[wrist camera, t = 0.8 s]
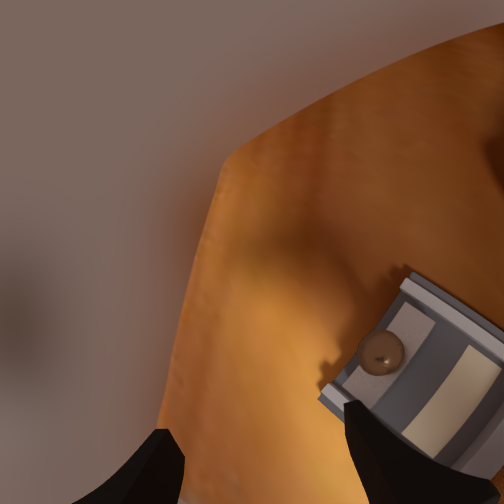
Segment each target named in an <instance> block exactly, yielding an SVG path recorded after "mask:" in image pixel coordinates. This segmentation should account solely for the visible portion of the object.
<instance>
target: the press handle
mask: <svg viewBox="0 0 504 504" xmlns="http://www.w3.org/2000/svg"><path fill="white" fill-rule="evenodd" d="M435 324H436V322H435V321H433V320H432V319H430V318H429V317H427V316H426V315H425V314H423V313H422V312H420V311H419V310H417V309H416V308H414V307H413V306H411V305H410V304H408V303H407V302H405V303H404V304H403V306H402V307H401V309H400V310H399V312H398V313H397V315H396V316H395V318H394V319H393V321H392V322H391V323H390V325H389V326H388V328H387V329H386V330H384V329H379V330H375V331H372V332H370V333H369V334H367V335H366V336H365V337H364V338H363V339H362V341H361V342H360V344H359V347H358V350H357V359H358V363H359V366H358V367H357V368H356V370H355V371H354V372H353V373H352V374H351V376H350V377H349V378H348V379H347V380H346V382H345V383H344V384H343V385H342V386H343V387H344V388H345V389H346V390H347V391H348V392H350V393H351V394H352V395H353V396H354V397H355V398H357V399H359V400H361V401H362V403H363V404H364V405H365V406H366V407H367V408H368V409H371V408H373V407H374V406H375V405H376V404H377V403H378V402H379V401H380V400H381V399H382V397H383V396H384V395H385V394H386V393H387V391H388V390H389V389H390V388H391V387H392V385H393V384H394V383H395V382H396V380H397V379H398V378H399V377H400V375H401V374H402V373H403V371H404V370H405V369H406V367H407V366H408V365H409V363H410V362H411V361H412V359H413V358H414V357H415V355H416V354H417V353H418V351H419V350H420V348H421V347H422V345H423V344H424V343H425V341H426V340H427V338H428V337H429V335H430V334H431V332H432V331H433V329H434V328H435Z"/></svg>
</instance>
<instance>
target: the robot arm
mask: <svg viewBox="0 0 504 504" xmlns="http://www.w3.org/2000/svg"><path fill="white" fill-rule="evenodd" d="M343 406H344V422H345V436H346V440H347V444H348V447H349V451H350V455H351V457H352V460H353V462H354V465H355V467H356V470H357V472H358V475H359V477H360V480H361V482H362V485H363V487H364V489H365V492H366V495H367V497H368V500H369V504H497V502H498V501H499V499H500V496H501V495H500V493H499V492H498V490H497V488H496V487H495V486H494V485H493V484H492V483H491V481H490V480H489V479H485V478H480V477H476V476H472V475H469V474H465V473H462V472H459V471H456V470H454V469H451V468H449V467H447V466H444V465H442V464H440V463H438V462H435V461H433V460H432V459H430V458H428V457H426V456H424V455H423V454H421V453H419V452H418V451H416V450H415V449H413V448H412V447H410V446H409V445H407V444H406V443H405V442H403V441H402V440H401V439H399V438H398V437H397V436H396V435H394V434H393V433H392V432H391V431H390V430H389V429H388V428H386V427H385V426H384V425H383V424H382V423H381V422H380V421H379V420H378V419H377V418H376V417H375V416H374V415H373V414H372V413H371V412H370V411H369V410H368V409H367V407H366V406H365V405H364V404H363V403H362V401H361V400H359V399H357V400H354V401H350V402H346V403H343ZM184 464H185V456H184V455H183V453H182V451H181V450H180V448H179V447H178V445H177V443H176V442H175V440H174V438H173V436H172V435H171V433H170V431H169V430H168V429H155V430H154V431H153V432H152V434H151V435H150V436H149V437H148V438H147V439H146V440H145V442H144V443H143V444H142V445H141V446H140V447H139V449H138V450H137V451H136V452H135V453H134V454H133V455H132V457H130V459H129V460H128V461H127V462H126V463H125V464H124V465H123V466H122V467H121V468H120V469H119V470H118V471H117V472H116V473H115V474H114V475H113V476H111V477H110V479H108V480H107V481H106V482H105V483H103V484H102V485H101V486H99V487H98V488H97V489H95V490H94V491H92V492H91V493H89V494H88V495H86V496H84V497H83V498H81V499H79V500H78V501H76V502H74V503H72V504H177V503H178V499H179V494H180V490H181V486H182V481H183V476H184Z"/></svg>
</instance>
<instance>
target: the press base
mask: <svg viewBox="0 0 504 504" xmlns="http://www.w3.org/2000/svg"><path fill="white" fill-rule="evenodd" d="M400 289H401V291H400V292H399V294H398V295H397V297H396V298H395V300H394V301H393V303H392V304H391V306H390V307H389V309H388V310H387V312H386V313H385V314H384V316H383V317H382V319H381V320H380V322H379V323H378V324H377V326H376V327H375V328H374V330H373V331H375V330H379V329H384V330H386V329H387V328H388V326H389V325H390V323H391V322H392V321H393V319H394V318H395V316H396V315H397V313H398V312H399V310H400V309H401V307H402V306H403V304H404V303H405V302H407V303H408V304H410V305H411V306H413V307H414V308H416V309H417V310H419V311H420V312H422V313H423V314H425V315H426V316H427V317H429V318H430V319H432V320H433V321H435V322H436V324H435V328H434V329H433V331H432V332H431V334H430V335H429V337H428V338H427V340H426V341H425V343H424V344H423V345H422V347H421V348H420V350H419V351H418V353H417V354H416V355H415V357H414V358H413V359H412V361H411V362H410V363H409V365H408V366H407V367H406V369H405V370H404V371H403V373H402V374H401V375H400V377H399V378H398V379H397V380H396V382H395V383H394V384H393V385H392V387H391V388H390V389H389V390H388V391H387V393H386V394H385V395H384V396H383V397H382V399H381V400H380V401H379V402H378V403H377V404H376V405H375V406H374V407H373V408H371V409H368V408H367V409H368V410H369V411H370V412H371V413H372V414H373V415H374V416H375V417H376V418H377V419H378V420H379V421H380V422H381V423H382V424H383V425H384V426H385V427H386V428H388V429H389V430H390V431H391V432H392V433H393V434H394V435H396V436H397V437H398V438H399V439H401V440H402V441H403V442H405V443H406V444H407V445H409V446H410V447H412V448H413V449H415V450H416V451H418V452H419V453H421V454H423V455H424V456H426V457H428V458H430V459H432V460H433V461H435V462H438V463H440V464H442V465H444V466H447V467H449V468H451V469H454V470H456V471H459V472H462V473H465V474H469V475H472V476H476V477H480V478H485V479H489V480H491V479H492V478H493V477H494V476H495V474H496V473H497V472H498V471H499V470H500V469H501V468H502V466H503V465H504V332H502V331H501V330H500V329H498V328H497V327H496V326H494V325H493V324H491V323H490V322H489V321H487V320H486V319H484V318H483V317H481V316H480V315H479V314H477V313H476V312H474V311H473V310H471V309H470V308H468V307H467V306H465V305H464V304H463V303H461V302H460V301H458V300H457V299H455V298H454V297H452V296H451V295H449V294H448V293H446V292H444V291H443V290H441V289H440V288H438V287H437V286H435V285H434V284H432V283H431V282H429V281H427V280H426V279H424V278H423V277H421V276H419V275H418V274H416V273H415V272H412V273H411V275H410V277H409V278H405V280H404V281H403V283H402V285H401V286H400ZM358 366H359V363H358V359H357V352H356V354H355V355H354V356H353V357H352V359H351V360H350V361H349V362H348V364H347V365H346V366H345V367H344V369H343V370H342V371H341V372H340V373H339V375H338V376H337V377H336V378H335V379H334V381H333V382H332V383H328V384H327V385H326V386H325V387H324V388H323V389H322V391H321V392H322V394H321V395H320V397H319V398H318V400H319V401H320V402H321V403H322V404H323V405H324V406H326V407H327V408H328V409H329V410H330V411H331V412H332V413H333V414H334V415H336V416H337V417H338V418H339V419H340V420H341V421H342V422H343V423H345V422H344V406H343V403H346V402H350V401H354V400H357V398H355V397H354V396H353V395H352V394H351V393H350V392H348V391H347V390H346V389H345V388H344V387H343V386H342V385H343V384H344V383H345V382H346V380H347V379H348V378H349V377H350V376H351V374H352V373H353V372H354V371H355V370H356V368H357V367H358Z"/></svg>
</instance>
